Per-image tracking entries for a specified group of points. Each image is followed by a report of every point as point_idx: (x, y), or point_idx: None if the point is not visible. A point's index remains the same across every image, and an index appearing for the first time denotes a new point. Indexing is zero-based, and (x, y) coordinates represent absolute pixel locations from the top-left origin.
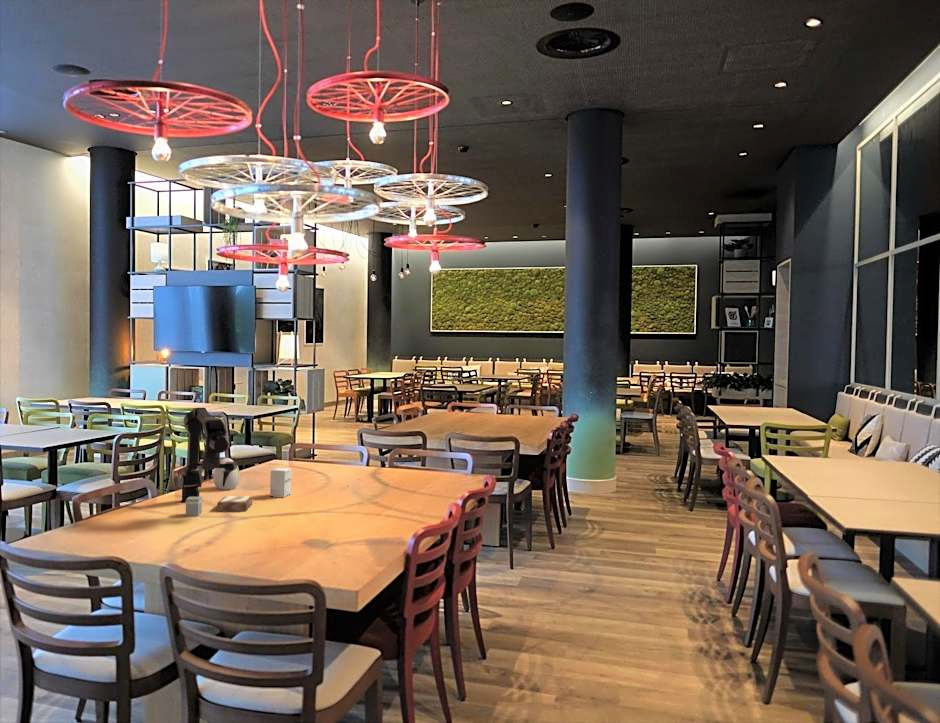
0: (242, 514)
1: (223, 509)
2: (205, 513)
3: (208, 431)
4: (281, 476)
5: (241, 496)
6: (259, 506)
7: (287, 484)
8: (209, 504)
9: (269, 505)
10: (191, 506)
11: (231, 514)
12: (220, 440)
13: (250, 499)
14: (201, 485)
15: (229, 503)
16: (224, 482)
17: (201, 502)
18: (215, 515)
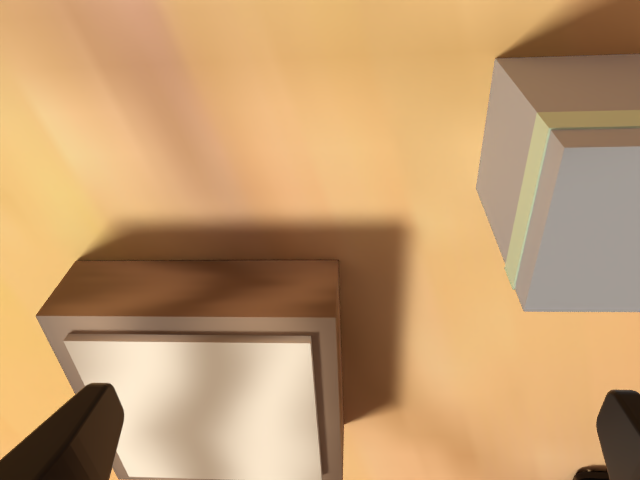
0: (36, 148)
1: (278, 270)
2: (432, 177)
3: None
4: None
5: (191, 474)
6: (64, 386)
7: None
8: (460, 432)
9: (11, 407)
10: (631, 97)
11: (146, 145)
12: None
13: None
14: (602, 428)
15: (208, 311)
16: (4, 459)
17: (505, 249)
18: (298, 96)
